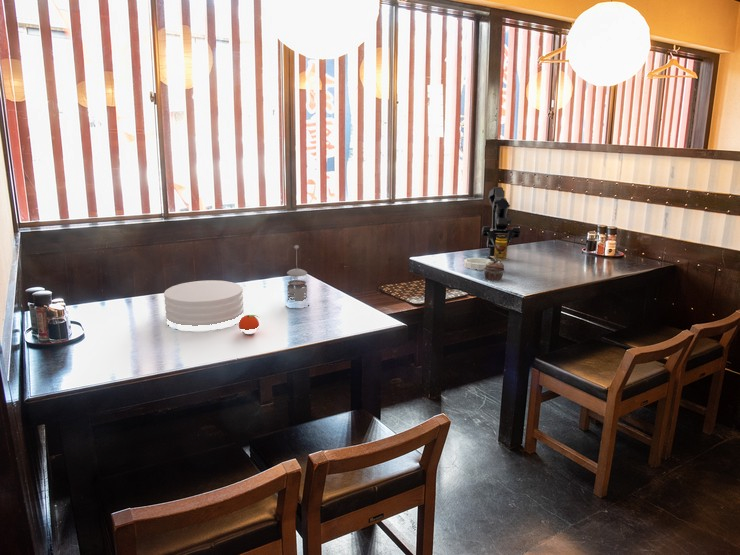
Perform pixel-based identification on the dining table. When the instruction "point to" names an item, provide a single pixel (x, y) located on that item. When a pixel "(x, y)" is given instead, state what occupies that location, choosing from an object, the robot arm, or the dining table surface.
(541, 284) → the dining table surface
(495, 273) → the cupcake
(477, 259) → the bowl
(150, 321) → the dining table surface
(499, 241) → the condiment
